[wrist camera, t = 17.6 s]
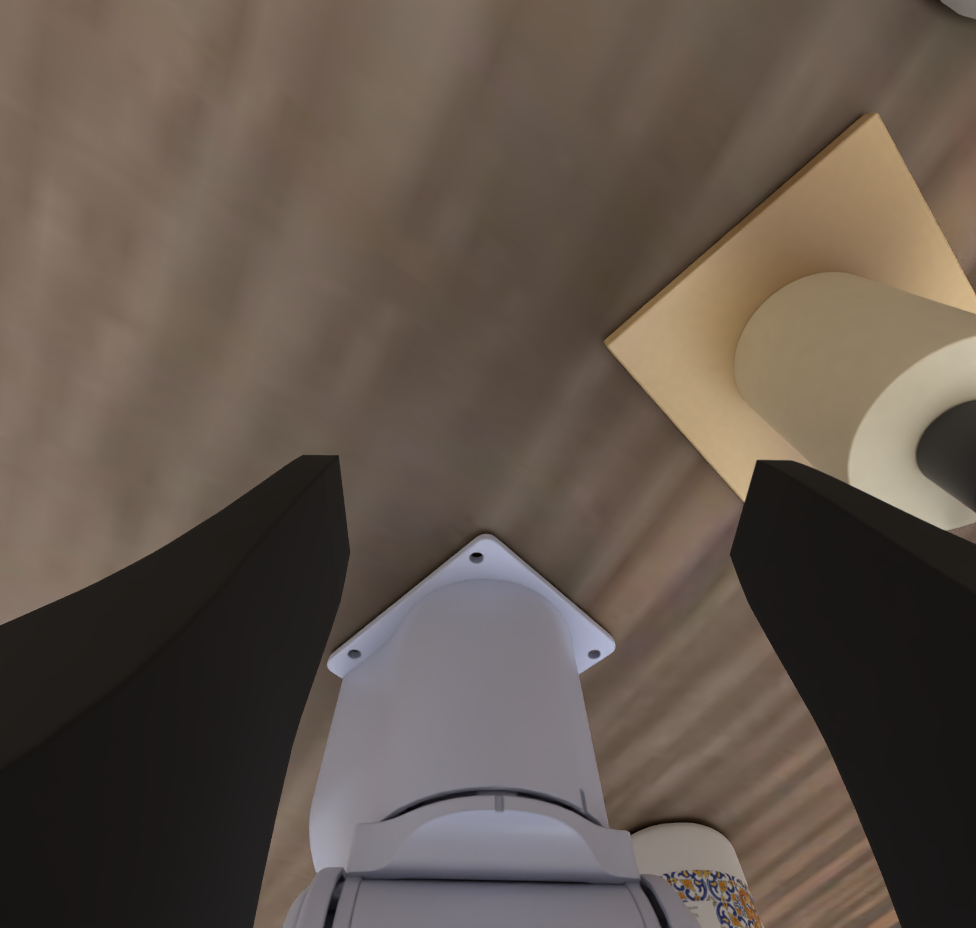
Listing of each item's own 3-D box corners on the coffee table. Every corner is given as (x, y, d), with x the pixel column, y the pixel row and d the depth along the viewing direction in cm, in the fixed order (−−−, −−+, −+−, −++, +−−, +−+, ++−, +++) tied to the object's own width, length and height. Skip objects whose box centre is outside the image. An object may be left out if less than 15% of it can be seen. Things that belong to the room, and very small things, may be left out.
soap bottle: (720, 306, 17) (895, 416, 10) (887, 246, 17) (1202, 318, 9) (748, 453, 20) (905, 626, 13) (895, 405, 19) (1150, 560, 12)
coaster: (752, 511, 22) (759, 520, 21) (602, 341, 18) (605, 346, 18) (993, 347, 19) (1008, 352, 18) (864, 112, 16) (878, 111, 15)
